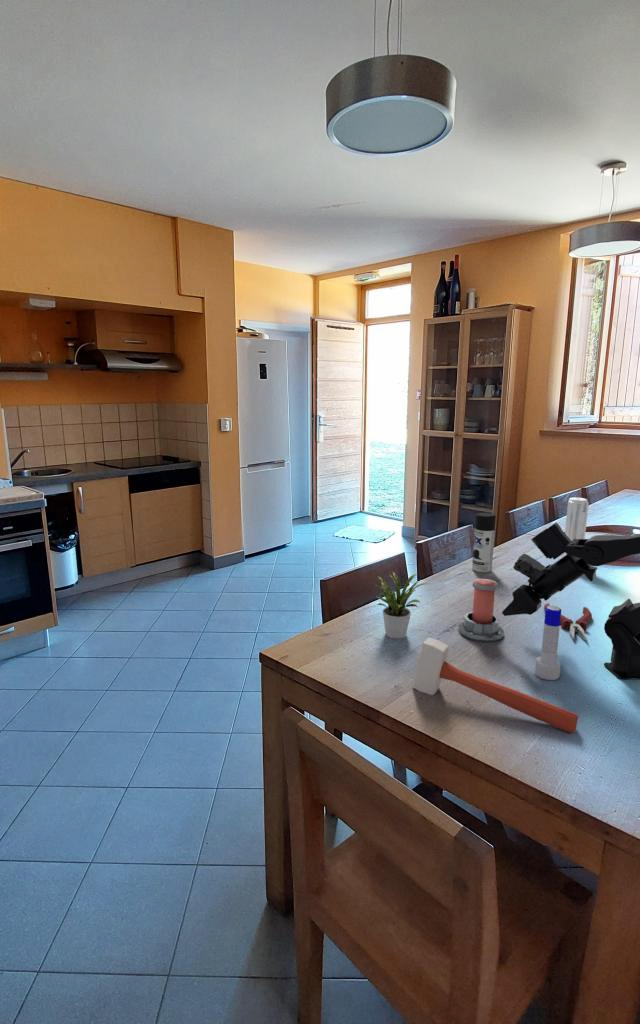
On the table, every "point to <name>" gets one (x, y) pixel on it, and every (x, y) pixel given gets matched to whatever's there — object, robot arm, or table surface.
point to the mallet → (484, 687)
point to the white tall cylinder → (576, 519)
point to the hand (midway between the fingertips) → (509, 608)
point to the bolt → (549, 646)
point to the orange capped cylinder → (483, 600)
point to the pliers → (576, 623)
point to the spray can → (483, 542)
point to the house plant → (397, 607)
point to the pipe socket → (480, 629)
